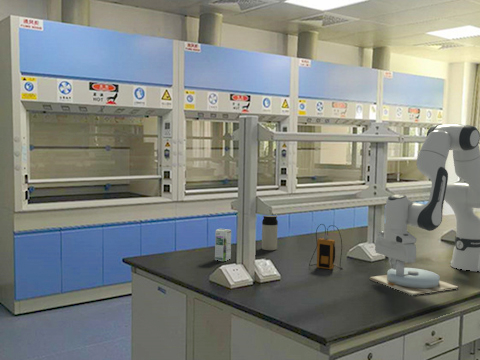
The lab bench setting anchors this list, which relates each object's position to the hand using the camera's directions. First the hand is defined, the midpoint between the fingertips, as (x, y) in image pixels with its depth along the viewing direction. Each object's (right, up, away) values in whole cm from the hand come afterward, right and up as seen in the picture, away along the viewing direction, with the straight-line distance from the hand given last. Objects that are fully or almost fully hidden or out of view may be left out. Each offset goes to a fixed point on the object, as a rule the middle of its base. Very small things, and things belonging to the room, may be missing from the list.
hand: (393, 268), depth 204 cm
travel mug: (-47, 0, +59) cm, 76 cm away
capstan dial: (+8, -5, 0) cm, 9 cm away
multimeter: (-22, -4, +26) cm, 34 cm away
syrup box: (-70, -2, +34) cm, 78 cm away
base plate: (+8, -6, 0) cm, 10 cm away
